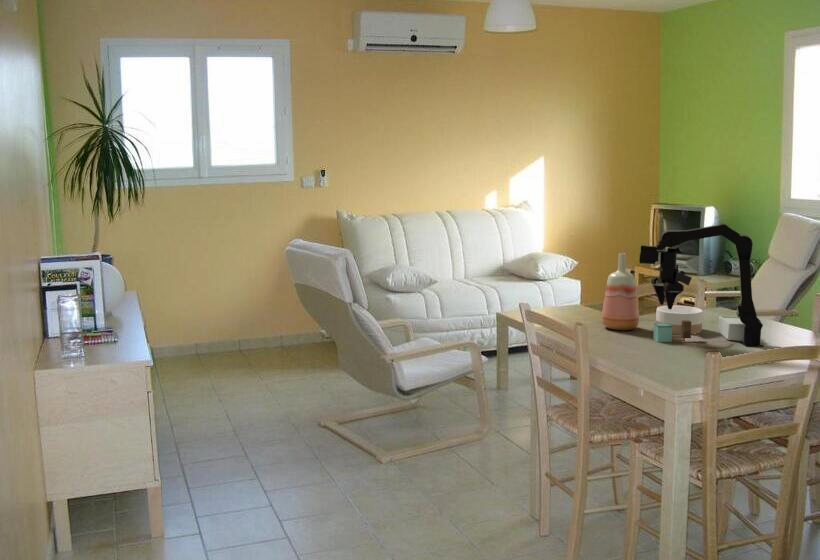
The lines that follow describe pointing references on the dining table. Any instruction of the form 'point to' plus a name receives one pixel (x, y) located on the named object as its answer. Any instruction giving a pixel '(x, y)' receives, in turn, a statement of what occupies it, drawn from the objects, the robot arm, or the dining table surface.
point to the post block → (683, 332)
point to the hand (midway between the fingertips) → (665, 306)
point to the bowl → (680, 317)
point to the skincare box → (731, 328)
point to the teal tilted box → (662, 332)
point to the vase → (620, 299)
